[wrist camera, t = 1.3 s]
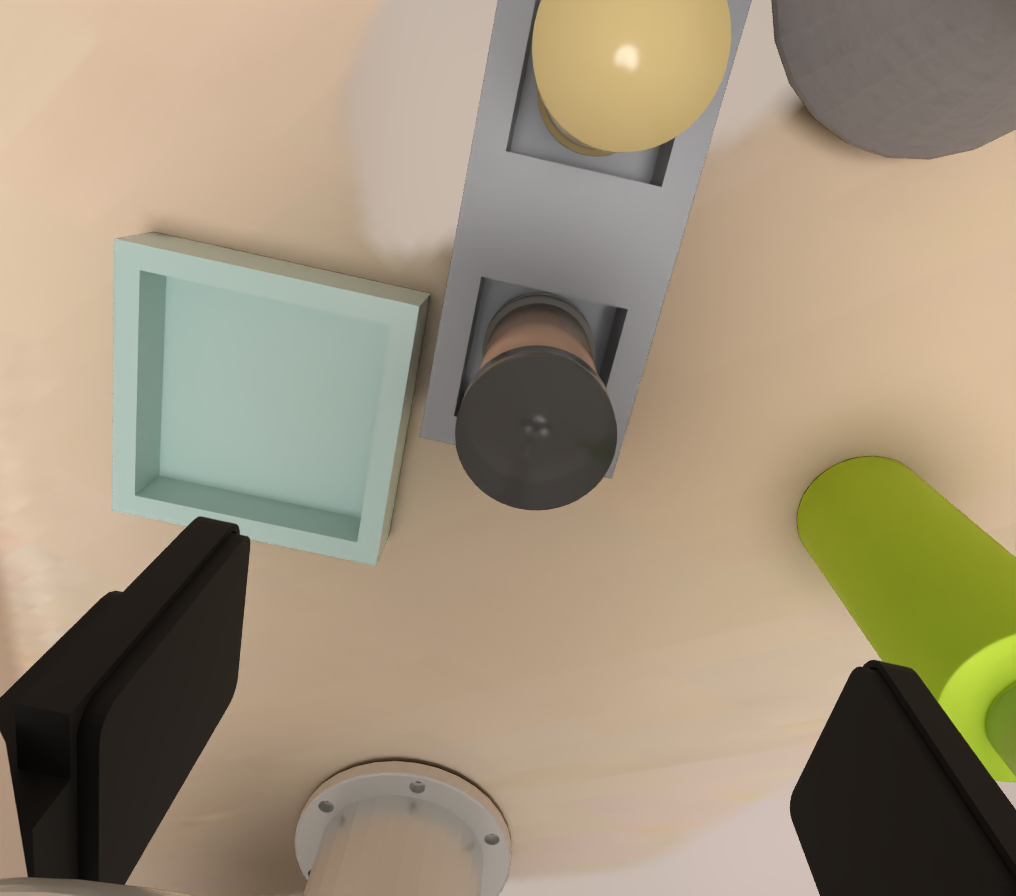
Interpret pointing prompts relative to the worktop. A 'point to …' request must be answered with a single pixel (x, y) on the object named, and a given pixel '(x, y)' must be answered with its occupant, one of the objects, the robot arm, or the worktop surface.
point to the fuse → (627, 69)
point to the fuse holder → (562, 227)
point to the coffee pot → (903, 71)
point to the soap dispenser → (923, 592)
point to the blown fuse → (536, 407)
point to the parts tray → (260, 394)
